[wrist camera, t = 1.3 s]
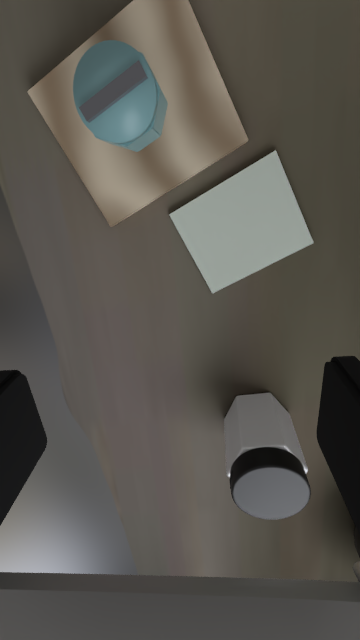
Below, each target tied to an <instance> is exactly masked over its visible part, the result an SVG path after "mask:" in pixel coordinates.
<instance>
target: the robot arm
mask: <svg viewBox="0 0 360 640" xmlns="http://www.w3.org/2000/svg"><path fill="white" fill-rule="evenodd" d="M317 440H318V443H319V446H320V448H321V450H322V453H323V455H324V457H325V459H326V461H327V464H328V466H329V468H330V470H331V472H332V475H333V477H334V479H335V481H336V484H337V486H338V488H339V490H340V492H341V495H342V497H343V499H344V501H345V504H346V506H347V508H348V510H349V512H350V515H351V517H352V519H353V521H354V523H355V526H356V528H357V530H358V532H359V535H360V361H359V360H358V359H357V358H356V357H355V356H342V357H333V358H332V359H331V362H326V363H325V367H324V375H323V383H322V392H321V400H320V408H319V417H318V425H317ZM46 445H47V437H46V434H45V431H44V428H43V425H42V422H41V419H40V416H39V413H38V410H37V407H36V404H35V401H34V398H33V395H32V393H31V390H30V387H29V384H28V381H27V378H26V376H24V375H23V374H21V372H20V371H18V370H7V371H6V370H4V371H0V525H1V524H2V522H3V520H4V518H5V517H6V515H7V513H8V512H9V510H10V508H11V506H12V505H13V503H14V501H15V500H16V498H17V496H18V495H19V493H20V491H21V489H22V488H23V486H24V484H25V482H26V481H27V479H28V477H29V476H30V474H31V472H32V471H33V469H34V467H35V465H36V463H37V462H38V460H39V459H40V457H41V455H42V454H43V452H44V450H45V448H46ZM0 640H360V582H344V581H323V580H299V579H264V578H229V577H193V576H153V575H109V574H108V575H107V574H63V573H10V572H0Z"/></svg>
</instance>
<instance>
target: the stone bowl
mask: <svg viewBox="0 0 360 640" xmlns="http://www.w3.org/2000/svg"><path fill="white" fill-rule="evenodd" d="M354 538H355V547H356V550H357V552H358V555H359V557H360V535H359V532H358V530H357V528H356V527H355V530H354ZM353 570H354V573H355V575H356V577H357V578H358V581H359V582H360V561H358V562H355V564H354V566H353Z"/></svg>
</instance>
